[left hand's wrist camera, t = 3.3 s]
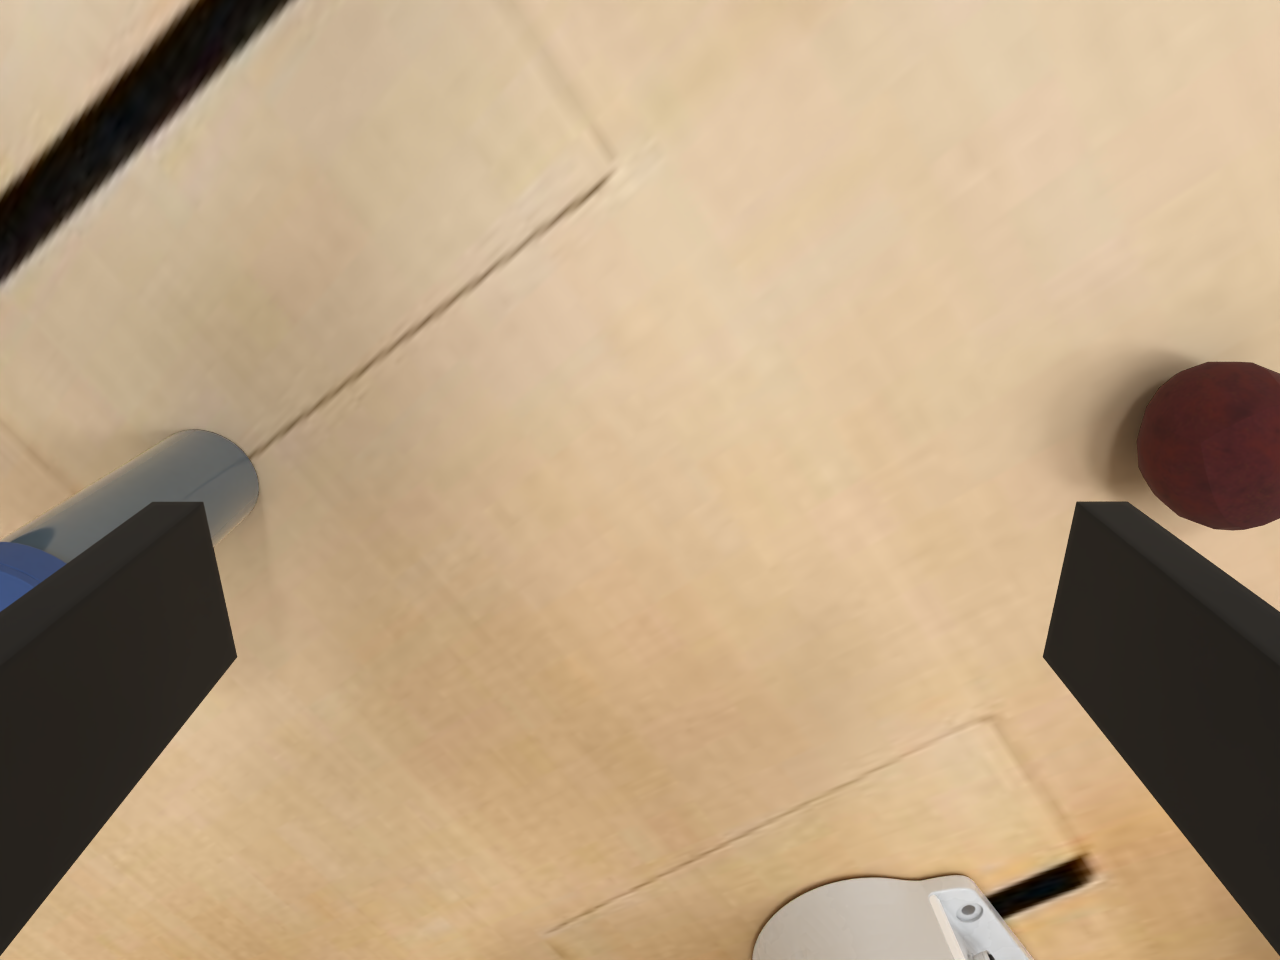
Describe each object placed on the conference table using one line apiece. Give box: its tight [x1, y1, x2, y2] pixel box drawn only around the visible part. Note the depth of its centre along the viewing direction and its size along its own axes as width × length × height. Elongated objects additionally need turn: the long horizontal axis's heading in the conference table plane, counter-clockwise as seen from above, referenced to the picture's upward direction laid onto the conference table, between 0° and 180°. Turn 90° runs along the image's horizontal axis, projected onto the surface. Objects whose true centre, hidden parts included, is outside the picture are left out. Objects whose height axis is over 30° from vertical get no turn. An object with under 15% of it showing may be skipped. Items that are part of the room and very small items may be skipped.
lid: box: [0, 542, 67, 612], centre depth 29 cm, size 6×6×2 cm
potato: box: [1137, 362, 1280, 530], centre depth 38 cm, size 7×8×7 cm
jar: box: [0, 430, 259, 563], centre depth 35 cm, size 5×5×15 cm
